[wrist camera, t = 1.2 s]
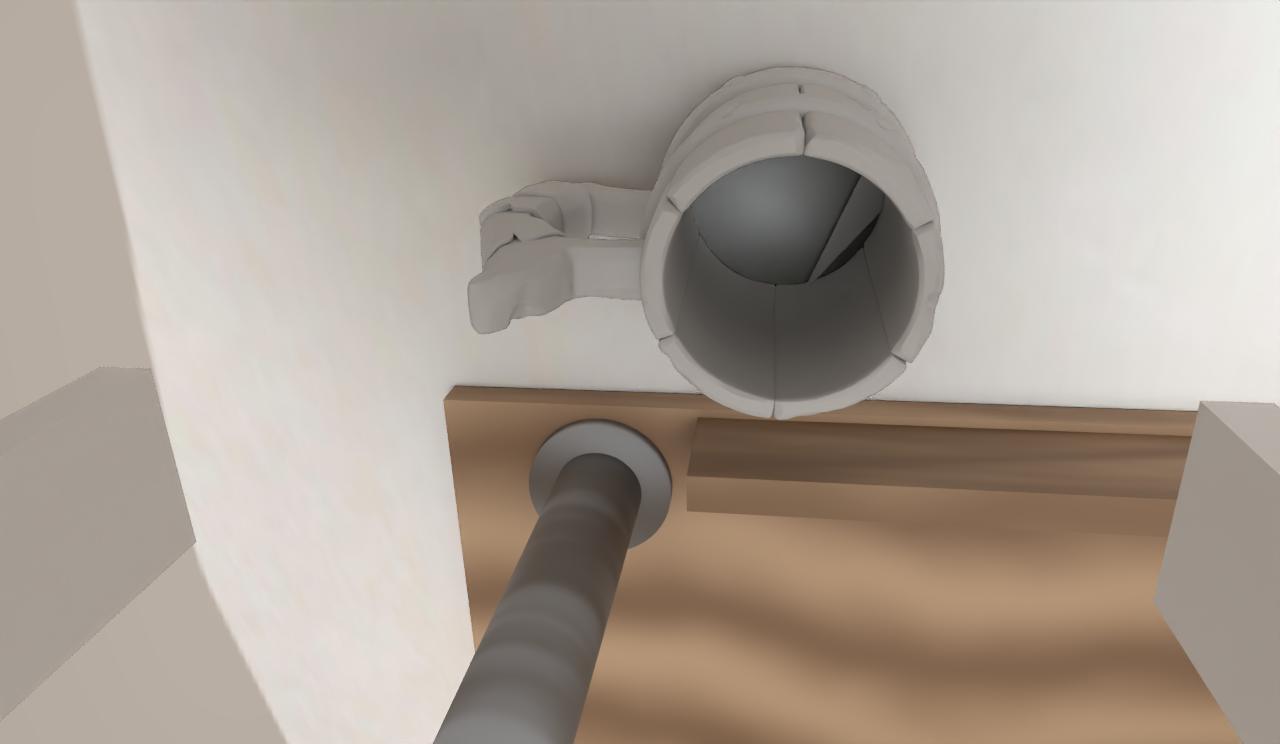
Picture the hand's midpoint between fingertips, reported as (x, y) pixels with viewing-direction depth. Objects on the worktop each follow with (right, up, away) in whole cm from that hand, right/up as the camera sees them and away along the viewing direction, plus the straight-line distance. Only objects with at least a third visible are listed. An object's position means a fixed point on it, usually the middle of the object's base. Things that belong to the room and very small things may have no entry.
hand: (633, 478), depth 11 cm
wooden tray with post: (+9, -8, +22) cm, 25 cm away
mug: (+3, +7, +16) cm, 18 cm away
